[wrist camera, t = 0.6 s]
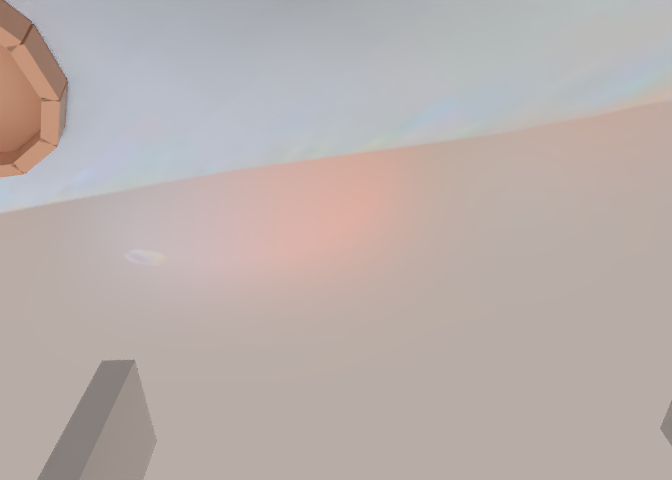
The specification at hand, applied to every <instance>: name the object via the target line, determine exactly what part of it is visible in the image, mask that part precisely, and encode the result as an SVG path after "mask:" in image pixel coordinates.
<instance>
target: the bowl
mask: <svg viewBox="0 0 672 480" xmlns="http://www.w3.org/2000/svg"><path fill="white" fill-rule="evenodd" d="M31 23H32V22H31V21H30V20H28V19H27V18H26V17H24V16H23V15H22V14H20V13H19V12H18V11H16V10H15V9H14V8H13V7H11V6H10V5H9V4H7V3H6V2H5V1H3V0H0V177H7V176H14V175H22V174H24V173H27V172H28V171H29V170H30V169H31V168H33V167H34V166H35V165H36V164H37V163H39V162H40V161H41V160H42V159H43V158H45V157H46V156H47V155H48V154H49V153H51V152H52V151H53V150H54V149H55V148H57V146H58V143H59V141H60V138H61V135H62V132H63V130H64V127H65V117H66V101H67V85H68V82H66V81H67V79H66V77H65V75H64V74H63V72H62V70H61V69H60V67H59V65H58V64H57V62H56V60H55V59H54V57H53V55H52V54H51V52H50V50H49V49H48V47H47V45H46V44H45V42H44V40H43V39H42V37H41V35H40V34H39V32H38V30H37V29H36V27H35V25H31Z"/></svg>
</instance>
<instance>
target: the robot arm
mask: <svg viewBox="0 0 672 480" xmlns="http://www.w3.org/2000/svg"><path fill="white" fill-rule="evenodd" d="M660 429H661V431H662V432H663V433H664V435H665V436H666V438H667V439H668V441H669V442H670V443H671V445H672V401H671V404H670V406H669V409H668V411H667V413H666V416H665V418H664V420H663V423H662V425H661V428H660ZM155 444H156V437H155V433H154V429H153V425H152V421H151V418H150V414H149V411H148V407H147V403H146V399H145V395H144V392H143V388H142V384H141V381H140V377H139V373H138V369H137V366H136V362H135V360H112V361H111V360H110V361H102V362H101V364H100V366H99V367H98V369H97V371H96V373H95V375H94V376H93V378H92V380H91V382H90V384H89V386H88V387H87V389H86V391H85V393H84V395H83V397H82V399H81V400H80V402H79V404H78V406H77V408H76V409H75V411H74V413H73V415H72V417H71V419H70V420H69V422H68V424H67V426H66V428H65V430H64V431H63V433H62V435H61V437H60V439H59V441H58V443H57V444H56V446H55V448H54V450H53V452H52V453H51V455H50V457H49V459H48V461H47V463H46V464H45V466H44V468H43V470H42V472H41V473H40V475H39V477H38V479H37V480H143V479H144V476H145V473H146V470H147V467H148V464H149V461H150V458H151V455H152V453H153V450H154V447H155Z"/></svg>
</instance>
